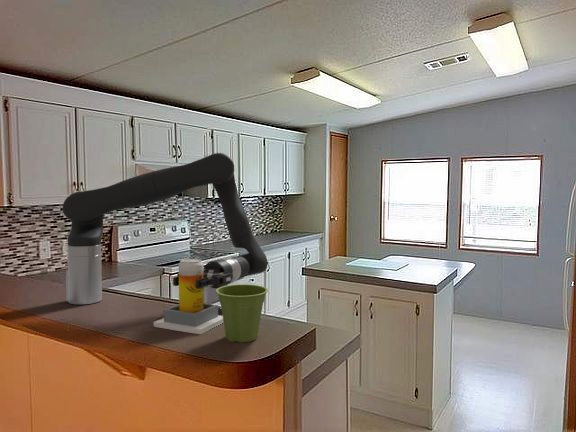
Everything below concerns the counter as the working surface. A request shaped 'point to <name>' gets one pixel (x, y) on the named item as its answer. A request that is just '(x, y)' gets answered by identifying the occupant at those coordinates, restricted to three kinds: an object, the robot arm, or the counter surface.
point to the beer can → (190, 286)
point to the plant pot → (241, 310)
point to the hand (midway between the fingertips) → (185, 283)
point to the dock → (190, 319)
